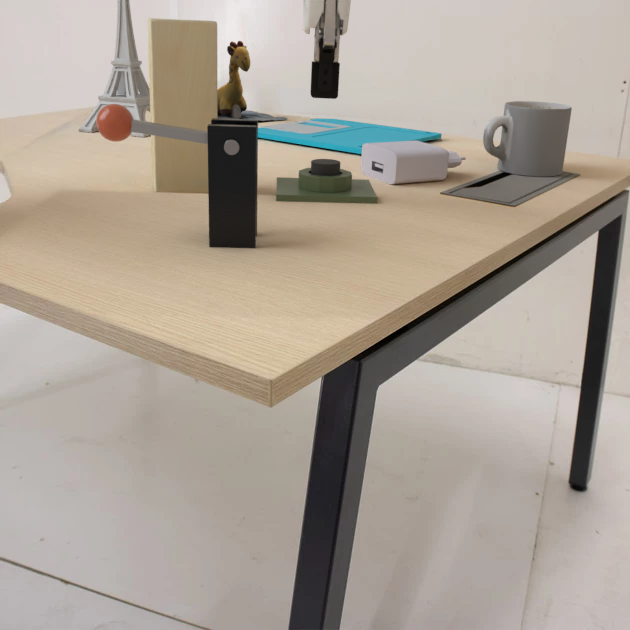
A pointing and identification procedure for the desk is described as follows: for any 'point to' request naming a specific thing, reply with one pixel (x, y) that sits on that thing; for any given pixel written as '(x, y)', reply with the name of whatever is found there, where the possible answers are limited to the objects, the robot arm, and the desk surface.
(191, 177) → the tall wooden block
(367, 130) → the diskette
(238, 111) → the stuffed giraffe
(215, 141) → the bracket
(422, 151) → the charger
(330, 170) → the button
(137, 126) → the lever
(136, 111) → the eiffel tower
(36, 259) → the desk surface
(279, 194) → the control block
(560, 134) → the coffee mug
